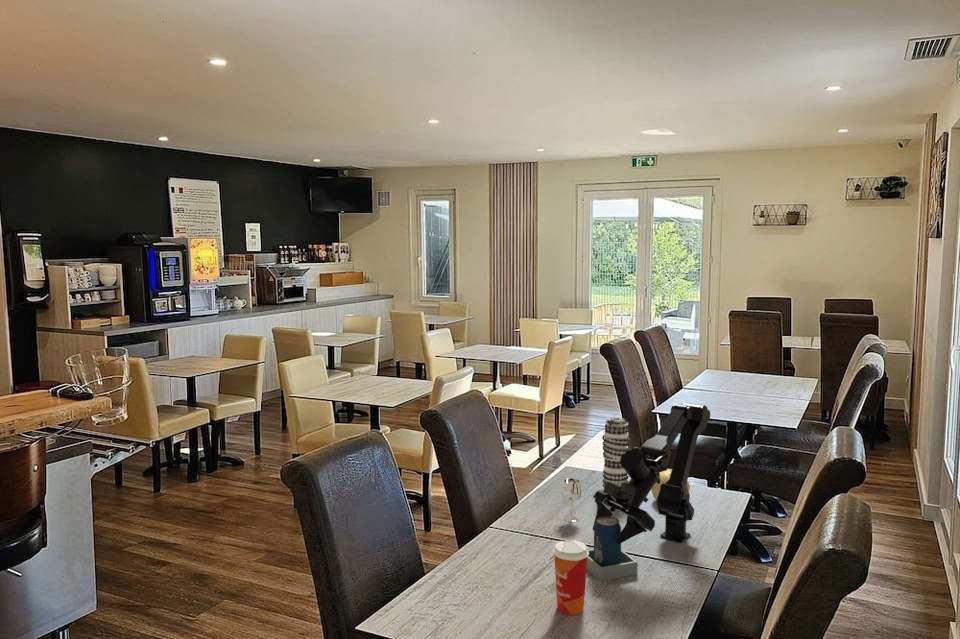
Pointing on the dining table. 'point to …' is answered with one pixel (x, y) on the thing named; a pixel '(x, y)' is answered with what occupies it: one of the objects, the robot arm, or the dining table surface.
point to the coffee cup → (570, 576)
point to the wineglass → (571, 495)
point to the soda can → (607, 541)
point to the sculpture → (663, 479)
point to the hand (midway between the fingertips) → (605, 536)
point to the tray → (612, 567)
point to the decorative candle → (615, 450)
